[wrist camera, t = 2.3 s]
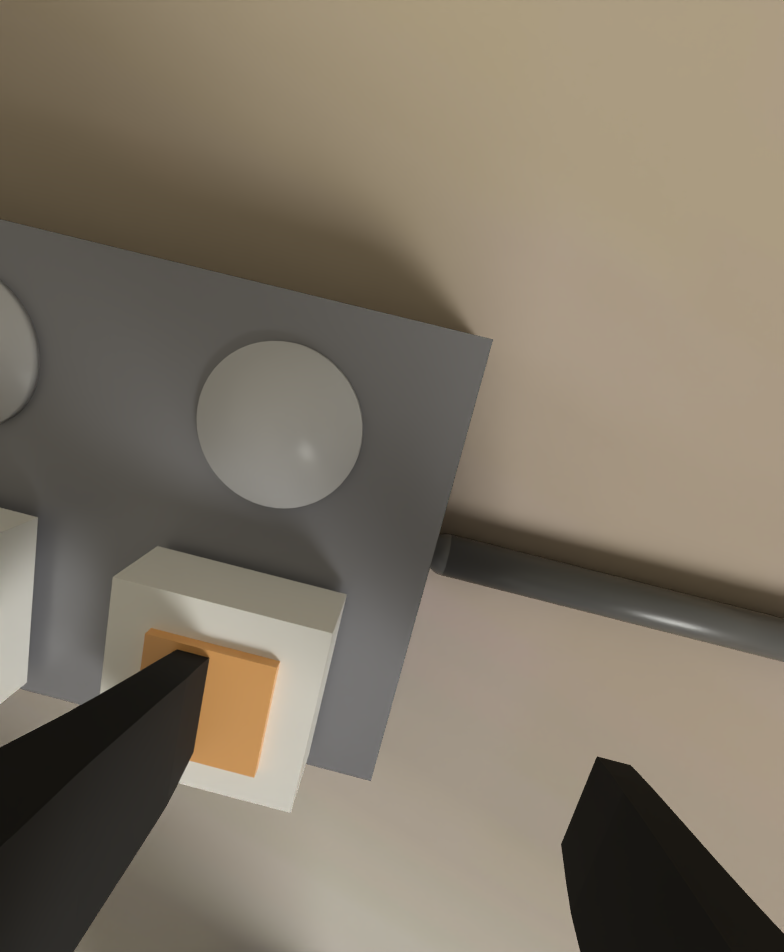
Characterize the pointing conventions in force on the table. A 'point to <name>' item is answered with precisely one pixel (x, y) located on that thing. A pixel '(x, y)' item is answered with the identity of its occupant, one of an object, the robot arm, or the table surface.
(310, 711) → the button
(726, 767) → the table surface
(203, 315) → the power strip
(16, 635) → the button
